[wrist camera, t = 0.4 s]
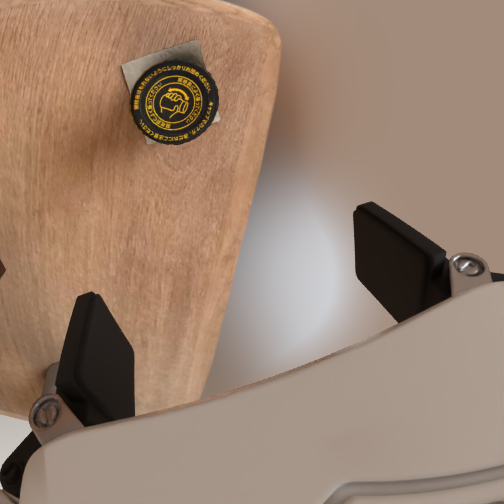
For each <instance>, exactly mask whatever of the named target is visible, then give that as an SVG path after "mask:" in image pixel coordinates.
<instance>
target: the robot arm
mask: <svg viewBox="0 0 504 504" xmlns="http://www.w3.org/2000/svg"><path fill="white" fill-rule="evenodd" d="M353 221H354V240H355V241H354V242H355V269H356V270H355V271H356V275H357V278H358V279H359V280H360V282H361V283H362V284H363V285H364V286H365V287H366V288H367V289H368V290H369V291H370V292H371V293H372V295H373V296H374V297H375V298H376V299H377V300H378V301H379V302H380V303H381V304H382V305H383V307H384V308H385V309H386V310H387V311H388V312H389V313H390V314H391V315H392V316H393V318H394V319H395V320H396V321H397V322H398V323H399V324H396V325H394V326H392V327H390V328H388V329H386V330H384V331H382V332H380V333H378V334H376V335H374V336H371V337H369V338H367V339H365V340H362V341H360V342H358V343H356V344H354V345H351V346H349V347H347V348H344V349H342V350H340V351H337V352H335V353H332V354H330V355H328V356H325V357H323V358H320V359H318V360H315V361H313V362H310V363H308V364H305V365H303V366H300V367H297V368H295V369H292V370H289V371H287V372H284V373H281V374H279V375H276V376H273V377H270V378H267V379H264V380H262V381H259V382H256V383H253V384H250V385H247V386H244V387H241V388H237V389H234V390H231V391H228V392H225V393H222V394H219V395H215V396H212V397H208V398H205V399H201V400H198V401H194V402H191V403H187V404H183V405H179V406H175V407H172V408H168V409H164V410H159V411H155V412H151V413H147V414H143V415H139V416H135V397H134V351H133V348H132V346H131V345H130V343H129V342H128V340H127V338H126V337H125V335H124V334H123V332H122V331H121V329H120V327H119V326H118V324H117V323H116V321H115V319H114V318H113V316H112V314H111V313H110V311H109V309H108V308H107V306H106V304H105V302H104V301H103V299H102V297H101V296H100V295H99V294H95V293H94V292H92V291H91V292H89V293H86V294H83V295H80V296H78V297H77V299H76V302H75V306H74V309H73V312H72V316H71V319H70V323H69V327H68V330H67V334H66V338H65V342H64V346H63V350H62V354H61V358H60V362H59V367H58V371H57V376H56V381H55V386H56V387H57V388H56V393H55V394H54V393H49V394H46V395H43V396H42V397H40V398H39V399H38V400H37V401H36V402H35V403H34V404H33V406H32V408H31V410H30V413H29V424H30V427H31V428H32V430H33V431H32V432H31V433H30V434H29V435H28V436H27V437H26V438H25V439H24V441H23V442H22V443H21V444H20V445H19V446H18V447H17V448H16V449H15V451H14V452H13V453H12V454H11V455H10V456H9V457H8V458H7V459H6V461H5V462H4V464H3V465H2V468H1V470H0V482H1V485H2V487H3V489H2V490H0V504H504V274H499V273H492V272H490V270H489V267H488V265H487V263H486V262H485V261H484V259H482V258H480V257H479V256H477V255H475V254H471V253H458V254H455V255H454V256H452V257H451V258H450V260H448V259H447V258H446V257H445V256H446V251H445V250H444V249H442V248H441V247H439V246H438V245H437V244H435V243H434V242H433V241H431V240H430V239H428V238H427V237H425V236H424V235H422V234H421V233H420V232H418V231H417V230H415V229H414V228H412V227H411V226H409V225H408V224H406V223H405V222H403V221H402V220H400V219H399V218H397V217H396V216H394V215H393V214H391V213H390V212H388V211H387V210H385V209H383V208H382V207H380V206H379V205H377V204H376V203H374V202H372V201H371V202H368V203H364V204H361V205H359V206H357V208H356V210H355V211H354V212H353Z"/></svg>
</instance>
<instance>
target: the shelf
mask: <svg viewBox="0 0 504 504" xmlns="http://www.w3.org/2000/svg"><path fill="white" fill-rule="evenodd" d="M5 271H6V269H5V267H4V265H3V264H2V262H1V260H0V279H1V277H2V276H3V274H4V273H5Z"/></svg>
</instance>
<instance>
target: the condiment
mask: <svg viewBox="0 0 504 504" xmlns="http://www.w3.org/2000/svg"><path fill="white" fill-rule="evenodd" d="M122 69H123V72H124V75H125V78H126V82H127V85H128V88H129V91H130V101H129V102H130V103H129V110H130V114H131V117H132V120H133V122H134V124H135V126H136V127H137V128H138V129H139V130H140V131H141V132H142V134H144V137H145V140H146V142H147V146H148V145H150V144H153V143H155V142H159V143H162V144H167V145H169V144H173V145H180V144H183V143H186V142H190V141H191V140H193V139H196V138H197V137H198V136H200V135H201V134H202V133H203V132H205V131H206V129H207V128H208V127H209V126H210V125H211V124H212V123H215V122H218V121H221V120H220V116H219V113H218V105H219V96H218V89H217V86H216V84H215V81H214V79H213V78H212V76H211V74H210V73H209V72H208V71H207V70H206V67H205V64H204V61H203V57H202V53H201V50H200V46H199V43H198V40H194V41H191V42H187V43H184V44H181V45H177V46H174V47H171V48H168V49H165V50H161V51H158V52H155V53H153V54H150V55H146V56H144V57H141V58H138V59H136V60H133V61H130V62H127V63H125V64H122Z"/></svg>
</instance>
